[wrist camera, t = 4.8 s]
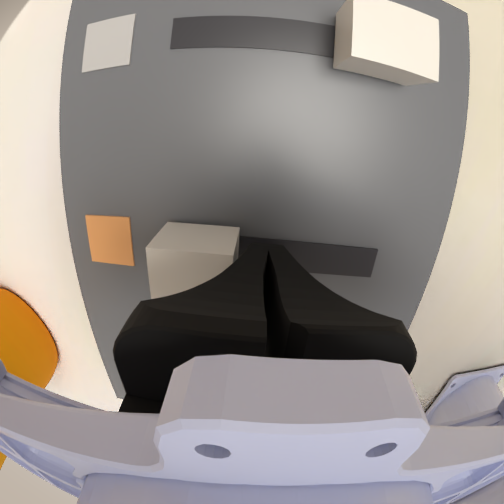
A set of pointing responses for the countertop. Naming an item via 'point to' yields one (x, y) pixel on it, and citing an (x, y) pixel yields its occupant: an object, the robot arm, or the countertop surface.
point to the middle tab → (189, 256)
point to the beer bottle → (25, 343)
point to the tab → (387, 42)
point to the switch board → (253, 147)
